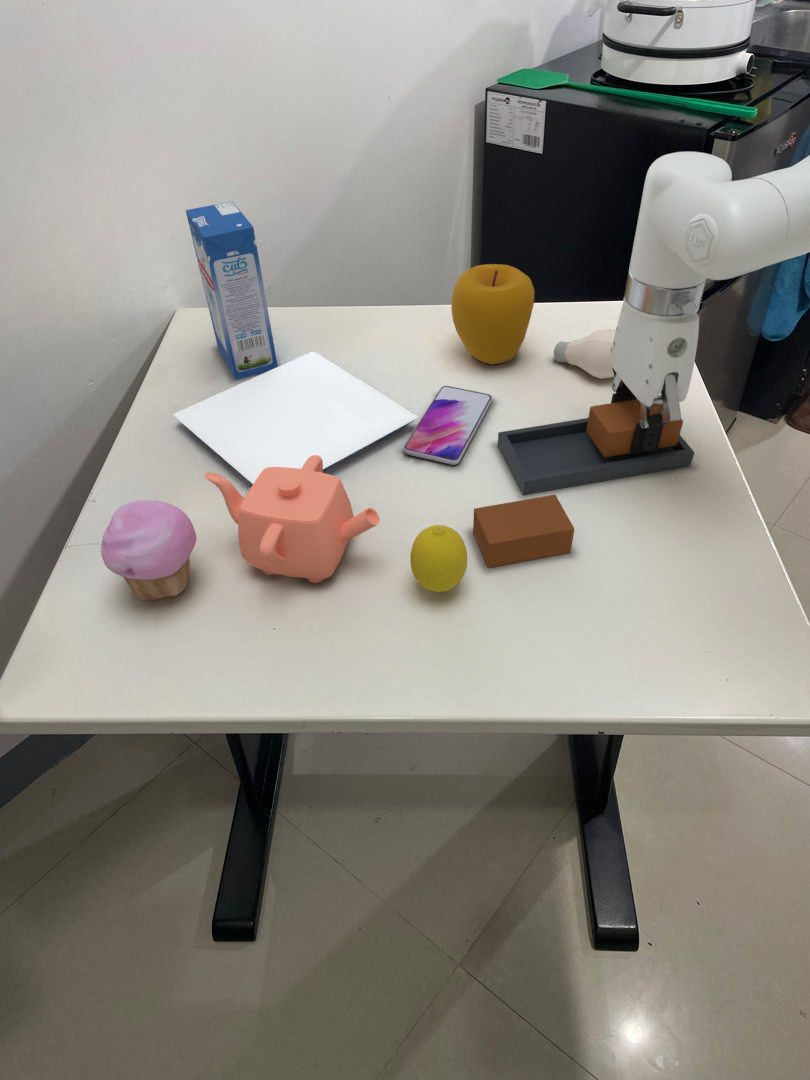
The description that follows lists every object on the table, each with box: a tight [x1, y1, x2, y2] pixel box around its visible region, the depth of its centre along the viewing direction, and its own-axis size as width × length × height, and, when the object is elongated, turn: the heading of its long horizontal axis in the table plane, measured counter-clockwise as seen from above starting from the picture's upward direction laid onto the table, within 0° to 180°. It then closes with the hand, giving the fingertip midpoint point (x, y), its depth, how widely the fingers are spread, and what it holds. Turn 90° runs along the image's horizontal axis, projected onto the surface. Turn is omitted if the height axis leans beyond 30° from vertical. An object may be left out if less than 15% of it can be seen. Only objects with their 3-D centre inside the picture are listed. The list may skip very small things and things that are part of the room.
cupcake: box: [100, 499, 197, 602], centre depth 72 cm, size 9×9×10 cm
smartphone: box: [402, 385, 493, 466], centre depth 93 cm, size 7×1×15 cm
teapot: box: [203, 455, 380, 584], centre depth 74 cm, size 14×12×10 cm
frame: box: [497, 417, 695, 496], centre depth 87 cm, size 10×21×2 cm, turn 102°
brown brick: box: [472, 494, 575, 569], centre depth 77 cm, size 6×9×4 cm, turn 102°
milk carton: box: [185, 201, 279, 381], centre depth 100 cm, size 10×6×20 cm, turn 25°
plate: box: [173, 351, 418, 485], centre depth 93 cm, size 22×22×2 cm
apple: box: [451, 263, 535, 365], centre depth 100 cm, size 11×11×13 cm
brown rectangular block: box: [586, 394, 684, 457], centre depth 86 cm, size 6×9×4 cm, turn 102°
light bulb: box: [553, 328, 616, 380], centre depth 100 cm, size 7×7×11 cm
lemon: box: [409, 524, 468, 593], centre depth 71 cm, size 6×6×8 cm
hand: (632, 434), depth 87 cm, fingers closed on brown rectangular block, 5 cm apart
